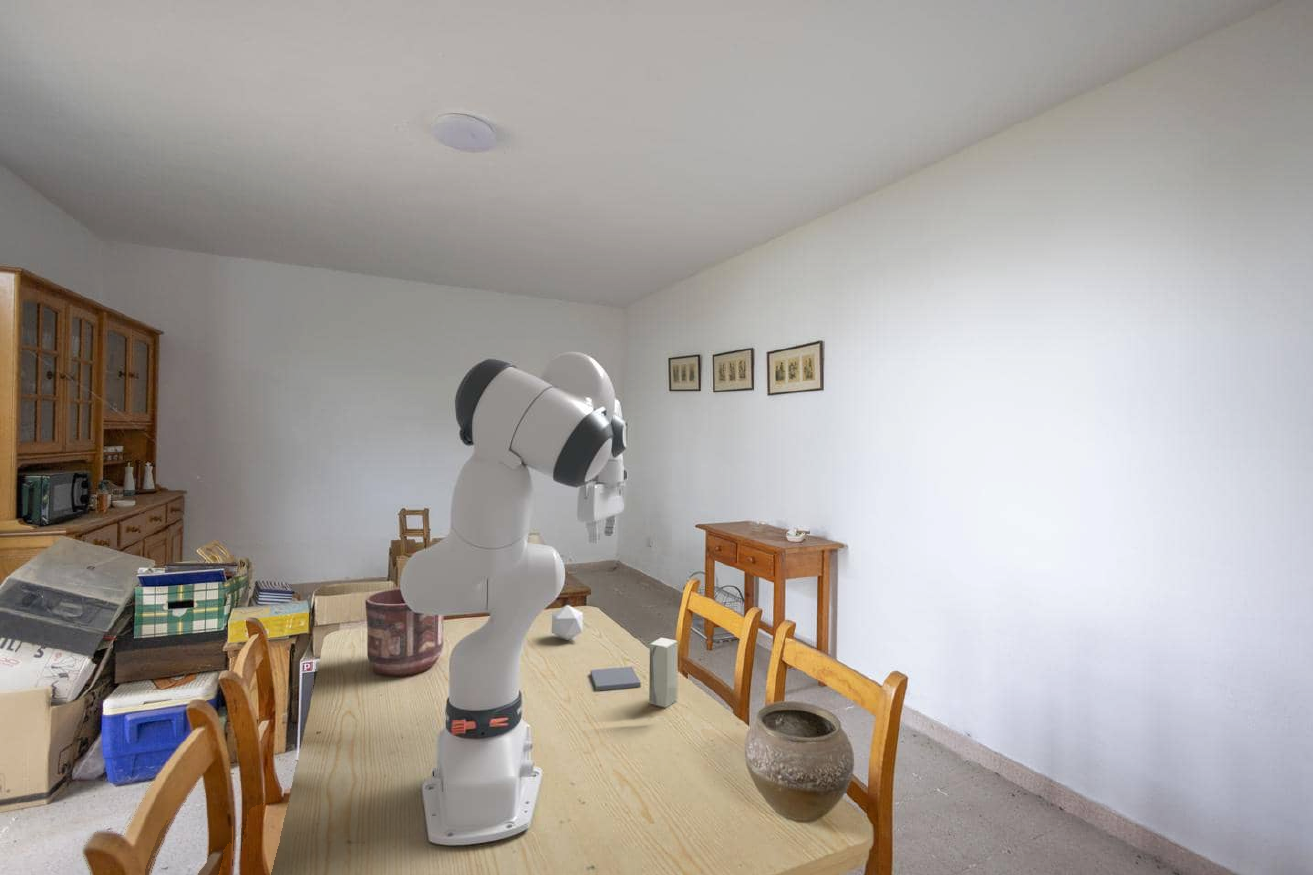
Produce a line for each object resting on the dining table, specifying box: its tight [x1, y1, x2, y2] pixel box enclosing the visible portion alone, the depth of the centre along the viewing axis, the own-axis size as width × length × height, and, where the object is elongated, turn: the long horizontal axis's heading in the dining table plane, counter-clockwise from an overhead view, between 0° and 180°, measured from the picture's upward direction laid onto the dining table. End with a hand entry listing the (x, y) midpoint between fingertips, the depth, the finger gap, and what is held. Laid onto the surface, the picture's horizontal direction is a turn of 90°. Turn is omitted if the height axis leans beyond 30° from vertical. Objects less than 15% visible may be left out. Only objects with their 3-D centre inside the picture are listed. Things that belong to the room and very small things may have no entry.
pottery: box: [365, 587, 445, 678], centre depth 147 cm, size 18×18×18 cm
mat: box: [590, 666, 641, 692], centre depth 141 cm, size 10×10×1 cm
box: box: [648, 637, 679, 709], centre depth 129 cm, size 5×4×13 cm
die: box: [551, 604, 584, 641], centre depth 169 cm, size 8×9×10 cm
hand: (602, 538), depth 129 cm, fingers open, 8 cm apart
